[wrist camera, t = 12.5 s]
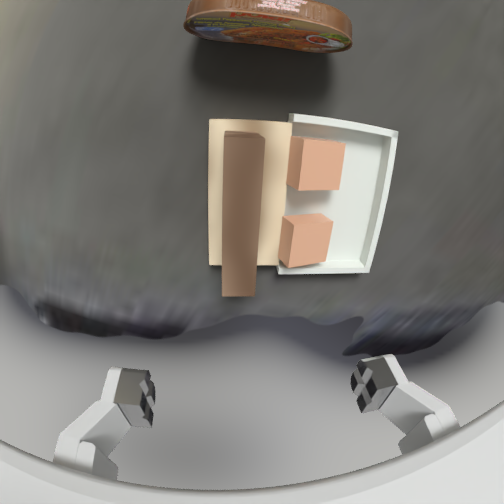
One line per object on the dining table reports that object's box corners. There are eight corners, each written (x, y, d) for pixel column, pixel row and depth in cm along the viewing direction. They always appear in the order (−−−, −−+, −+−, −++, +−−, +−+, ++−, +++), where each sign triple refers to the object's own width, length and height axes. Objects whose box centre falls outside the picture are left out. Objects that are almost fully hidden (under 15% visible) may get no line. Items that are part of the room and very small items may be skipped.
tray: (275, 263, 35) (278, 274, 33) (288, 113, 27) (294, 113, 24) (361, 263, 36) (368, 272, 34) (387, 129, 28) (398, 131, 26)
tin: (189, 41, 22) (175, 17, 14) (193, 15, 20) (181, -15, 13) (332, 58, 24) (368, 45, 16) (335, 34, 22) (370, 15, 15)
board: (210, 256, 34) (209, 264, 32) (210, 118, 26) (209, 119, 24) (276, 256, 35) (278, 265, 33) (288, 122, 27) (292, 123, 25)
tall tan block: (222, 258, 32) (222, 296, 26) (224, 130, 25) (223, 137, 19) (248, 258, 32) (254, 296, 26) (256, 131, 25) (265, 138, 19)
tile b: (277, 257, 32) (288, 268, 30) (282, 216, 30) (294, 225, 28) (314, 251, 34) (325, 261, 32) (320, 213, 32) (333, 221, 30)
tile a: (286, 183, 28) (298, 190, 26) (290, 135, 26) (304, 139, 24) (325, 183, 30) (339, 190, 28) (331, 139, 28) (345, 143, 26)
